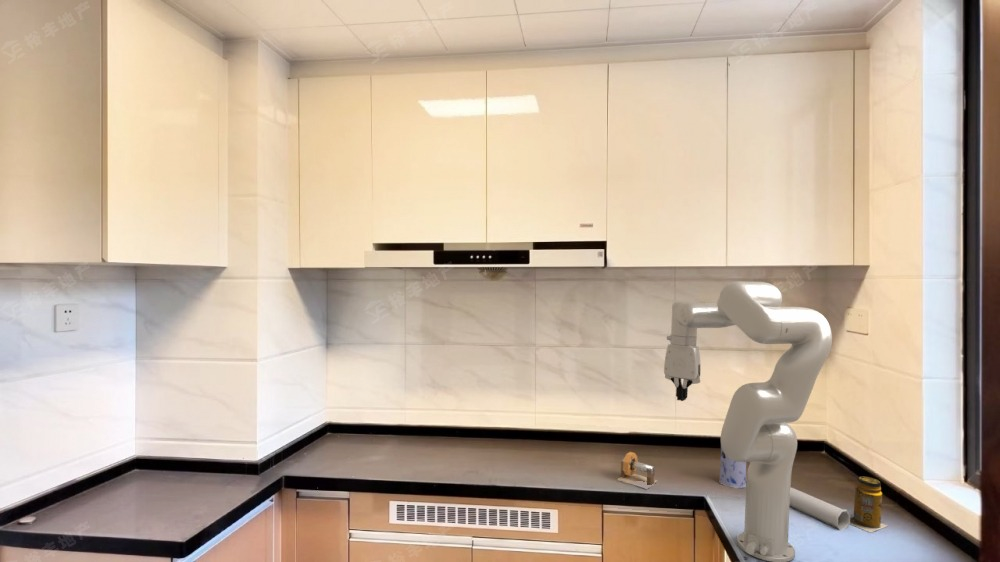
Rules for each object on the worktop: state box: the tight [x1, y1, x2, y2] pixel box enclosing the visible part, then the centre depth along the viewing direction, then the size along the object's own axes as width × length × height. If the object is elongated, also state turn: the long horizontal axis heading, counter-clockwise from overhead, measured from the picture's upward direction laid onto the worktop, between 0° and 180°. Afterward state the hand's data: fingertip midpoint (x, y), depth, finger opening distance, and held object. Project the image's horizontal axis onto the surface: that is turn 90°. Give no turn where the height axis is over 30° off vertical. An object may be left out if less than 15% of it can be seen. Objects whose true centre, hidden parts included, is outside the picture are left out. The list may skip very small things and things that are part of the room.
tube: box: [790, 487, 851, 531], centre depth 150 cm, size 5×5×25 cm
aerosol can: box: [718, 445, 747, 489], centre depth 167 cm, size 8×8×20 cm
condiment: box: [849, 476, 889, 534], centre depth 142 cm, size 7×8×12 cm
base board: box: [616, 460, 658, 485], centre depth 166 cm, size 8×10×6 cm
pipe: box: [621, 457, 655, 474], centre depth 166 cm, size 3×10×3 cm, turn 50°
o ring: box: [623, 451, 639, 476], centre depth 168 cm, size 7×2×7 cm, turn 140°
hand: (681, 399), depth 163 cm, fingers closed
